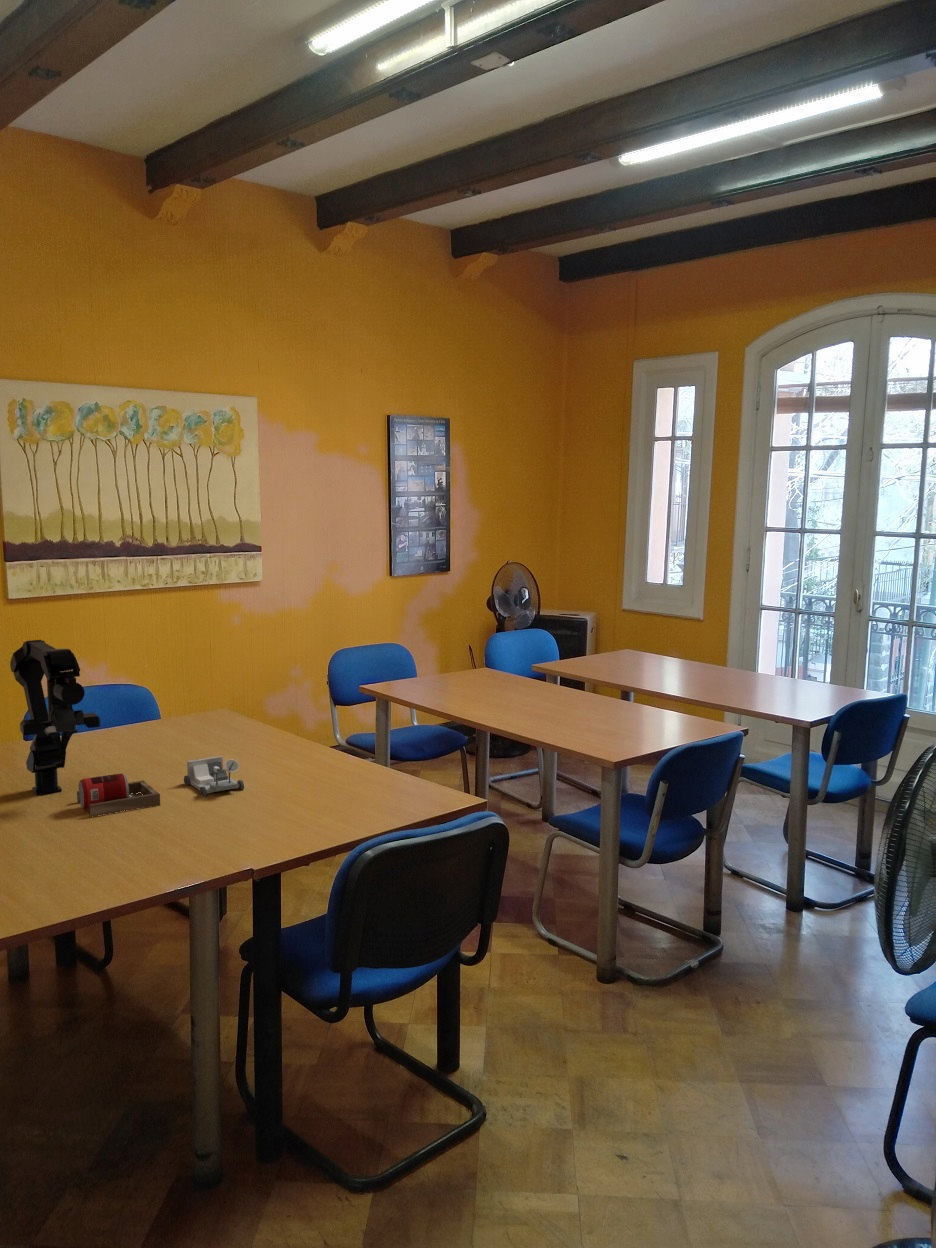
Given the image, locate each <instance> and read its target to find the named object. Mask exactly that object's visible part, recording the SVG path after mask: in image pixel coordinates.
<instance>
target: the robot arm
mask: <svg viewBox="0 0 936 1248" xmlns="http://www.w3.org/2000/svg"><path fill="white" fill-rule="evenodd" d="M9 667H10V671H11V673H12V674H13V677H14V680H15V681H16V682H17V683H18V684H19V685H20V686H22V687H23V691H24V696H25V701H26V705H27V711H28V715H29V719H23V720H21V721H20V723H19V731H20V733H21V734H22V735H23V736H32V735H33V738H32V741H31V744H30V746H29V753H28V756H27V759H26V762H25V763H26V769H27V770H28V772H30V773H32V774H34V787H32V788H31V790H32V792H34V794H35V795H36V796H39V795H44V794H45V795H46V794H51V793H57V792H58V791H59V792H62V791H63V789H62V787H60V786H59V777H58V769H61V768H62V769H63V768H65V766H66V758H67V757H66V756H67V748H68V744H69V742H70V739H71V737H72V735H74V733H75V734H76V733H78V732H79V731H78V729H77V727H78V726H83V725H84V726H85V727H87V728H88V729H93V728H99V727H101V717H99V716H98V715H97V713H95V712H87V713H84V711H83V710H82V709H77V710H74V708H73V706H74V705H77V704H79V703H81V702H82V701H83V699H84V697H85V688H84V686H82V684H80V683H79V682H77V677H80V676H81V674H80V672H81V667H80V665H79V662H78V659H77V657H76V656H75V653H74V652H72V650H71V649H70V648H55V647H54V646H51V645H50V644H48V643H46V642H45V640H43V639H42V640H41V639H33V640H31V639H30V640H26V641H24V642H23V644H22V646H21V647H20V648H18V649H16V651H14V652H13V653H12V656H11V659H10V662H9ZM44 676H45V678H46V689H47V690H46V691H47V703H46V698H45V694H44V689H43V685H42V681H43V677H44Z"/></svg>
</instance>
